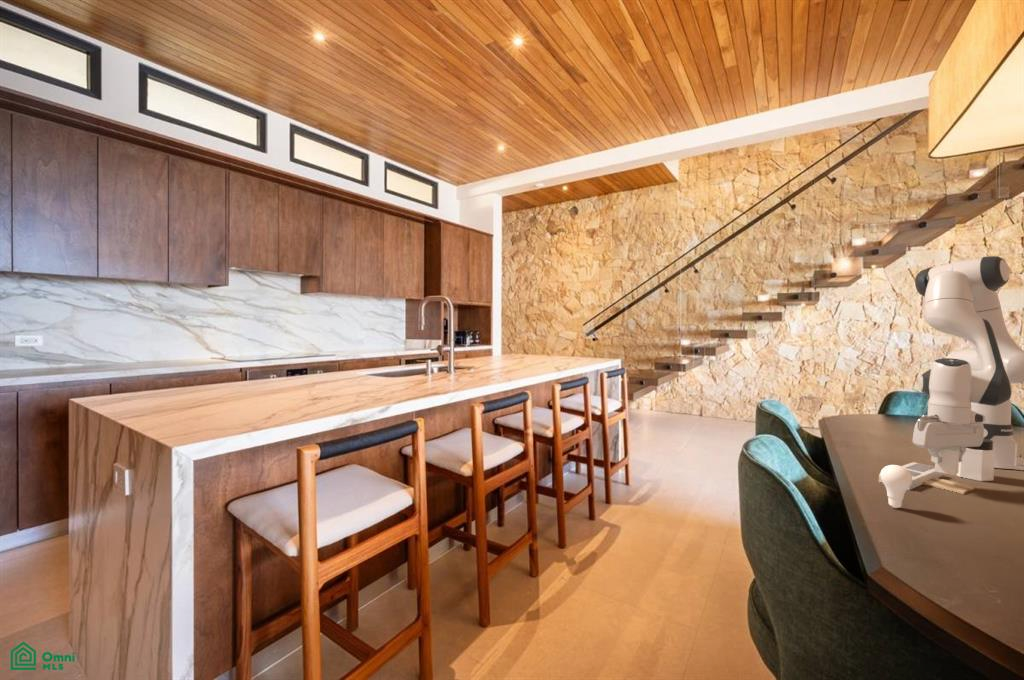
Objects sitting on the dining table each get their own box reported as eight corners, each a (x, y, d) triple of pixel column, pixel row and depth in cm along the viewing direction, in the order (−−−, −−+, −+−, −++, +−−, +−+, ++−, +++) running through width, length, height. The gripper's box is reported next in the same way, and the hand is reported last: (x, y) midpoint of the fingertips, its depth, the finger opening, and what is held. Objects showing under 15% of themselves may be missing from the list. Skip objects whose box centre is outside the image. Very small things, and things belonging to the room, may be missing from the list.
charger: (938, 468, 128) (939, 442, 128) (958, 472, 124) (959, 445, 124) (934, 471, 125) (936, 444, 125) (954, 475, 122) (956, 447, 122)
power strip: (919, 467, 142) (919, 458, 142) (948, 473, 136) (948, 465, 136) (878, 482, 128) (878, 472, 128) (909, 490, 122) (909, 480, 122)
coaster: (932, 478, 131) (932, 476, 131) (974, 488, 123) (974, 486, 123) (920, 483, 127) (920, 481, 127) (963, 494, 119) (963, 492, 119)
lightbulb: (880, 501, 114) (881, 460, 113) (911, 508, 109) (913, 465, 109) (877, 507, 109) (879, 465, 109) (910, 515, 105) (912, 471, 105)
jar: (994, 477, 132) (996, 439, 132) (992, 483, 127) (994, 443, 127) (952, 470, 139) (954, 433, 139) (949, 475, 134) (951, 437, 134)
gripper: (930, 417, 120) (928, 466, 120) (990, 416, 123) (988, 464, 123) (906, 413, 126) (904, 459, 126) (964, 412, 129) (961, 457, 130)
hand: (946, 462), depth 125 cm, fingers closed on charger, 5 cm apart
